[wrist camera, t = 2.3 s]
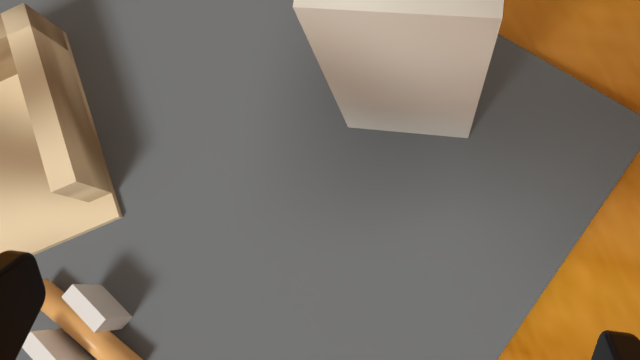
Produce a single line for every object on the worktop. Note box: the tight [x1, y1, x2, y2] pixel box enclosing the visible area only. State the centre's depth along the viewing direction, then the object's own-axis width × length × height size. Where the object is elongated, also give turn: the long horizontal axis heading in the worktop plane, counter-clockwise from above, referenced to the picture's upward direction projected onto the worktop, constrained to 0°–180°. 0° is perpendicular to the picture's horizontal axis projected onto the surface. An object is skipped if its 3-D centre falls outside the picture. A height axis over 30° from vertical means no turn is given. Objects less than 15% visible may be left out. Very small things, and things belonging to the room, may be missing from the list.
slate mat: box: [0, 0, 640, 360], centre depth 24 cm, size 26×28×1 cm
